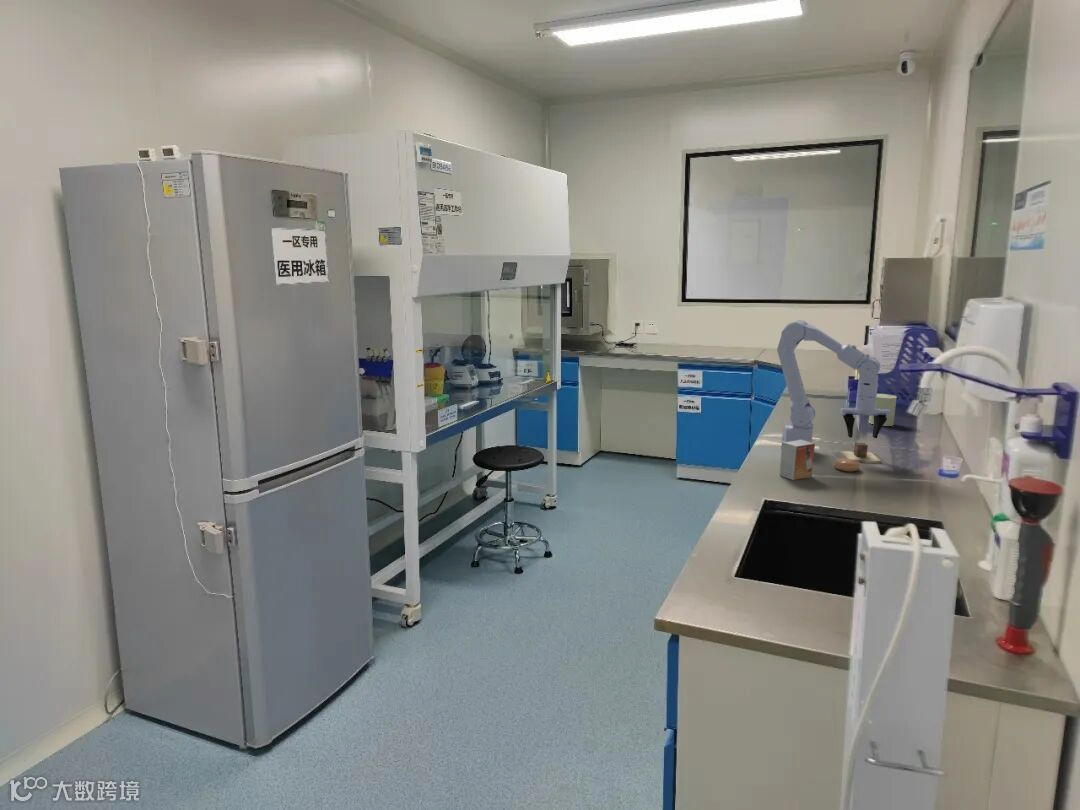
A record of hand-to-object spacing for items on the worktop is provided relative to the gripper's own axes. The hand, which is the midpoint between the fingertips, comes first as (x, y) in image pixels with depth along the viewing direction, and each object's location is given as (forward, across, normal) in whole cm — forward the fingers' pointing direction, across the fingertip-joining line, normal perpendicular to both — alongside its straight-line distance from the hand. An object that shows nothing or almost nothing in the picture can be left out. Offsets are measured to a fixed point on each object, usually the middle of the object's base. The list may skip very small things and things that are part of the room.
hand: (862, 437), depth 224 cm
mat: (+8, 0, 0) cm, 8 cm away
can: (+8, +25, +54) cm, 60 cm away
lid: (+7, 0, 0) cm, 7 cm away
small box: (+8, -25, -21) cm, 34 cm away
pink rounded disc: (+8, -8, -13) cm, 17 cm away
